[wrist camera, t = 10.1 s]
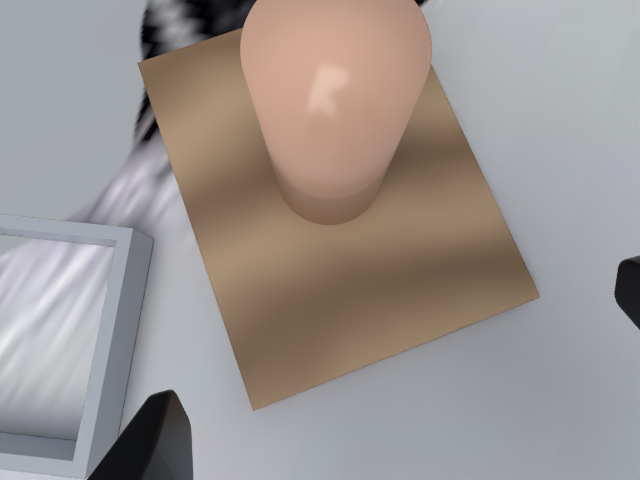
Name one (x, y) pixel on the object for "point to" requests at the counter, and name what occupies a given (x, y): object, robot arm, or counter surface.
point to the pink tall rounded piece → (334, 95)
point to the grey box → (108, 357)
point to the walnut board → (329, 233)
